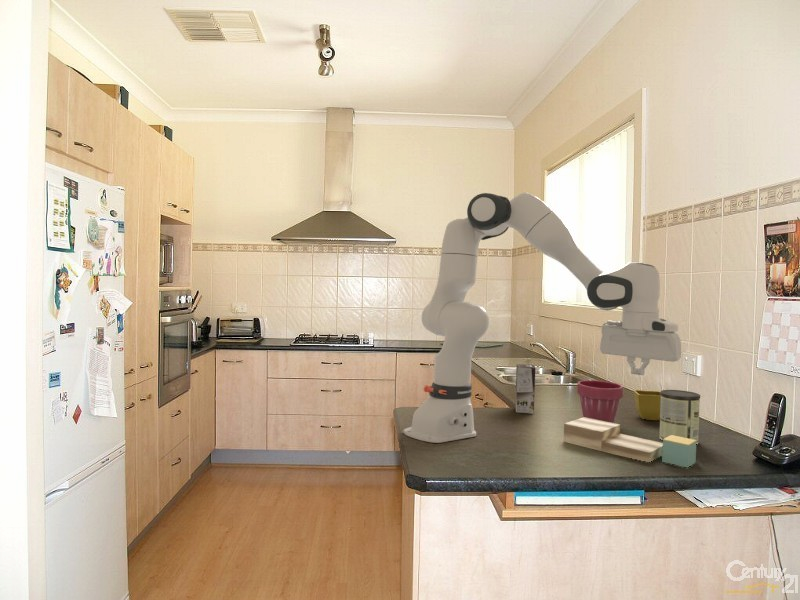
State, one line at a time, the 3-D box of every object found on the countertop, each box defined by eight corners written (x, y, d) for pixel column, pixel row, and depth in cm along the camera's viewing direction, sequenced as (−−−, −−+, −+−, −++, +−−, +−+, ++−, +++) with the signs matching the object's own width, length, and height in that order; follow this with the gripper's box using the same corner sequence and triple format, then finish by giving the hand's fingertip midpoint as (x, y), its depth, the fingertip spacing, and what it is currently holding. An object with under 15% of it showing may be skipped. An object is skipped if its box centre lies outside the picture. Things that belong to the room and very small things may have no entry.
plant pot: (618, 430, 161) (620, 389, 161) (572, 423, 168) (573, 384, 168) (623, 420, 174) (625, 383, 174) (580, 414, 181) (581, 378, 181)
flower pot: (637, 420, 175) (638, 394, 175) (632, 414, 183) (633, 389, 183) (665, 423, 173) (666, 396, 172) (659, 416, 181) (660, 391, 181)
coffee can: (660, 433, 159) (661, 388, 159) (698, 439, 154) (700, 392, 153) (657, 441, 150) (659, 393, 150) (698, 448, 145) (700, 398, 144)
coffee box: (534, 414, 180) (535, 367, 180) (515, 412, 182) (516, 366, 181) (533, 408, 189) (534, 364, 189) (515, 407, 191) (516, 363, 190)
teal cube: (662, 439, 132) (662, 462, 132) (688, 444, 127) (687, 468, 128) (671, 434, 136) (670, 457, 136) (696, 440, 132) (695, 463, 132)
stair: (649, 463, 131) (650, 442, 131) (563, 441, 148) (564, 423, 148) (666, 453, 139) (666, 434, 139) (583, 434, 156) (583, 417, 156)
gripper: (597, 320, 144) (594, 370, 144) (676, 325, 129) (673, 381, 129) (607, 320, 148) (605, 368, 148) (684, 325, 133) (682, 378, 134)
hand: (637, 374), depth 139 cm, fingers closed
